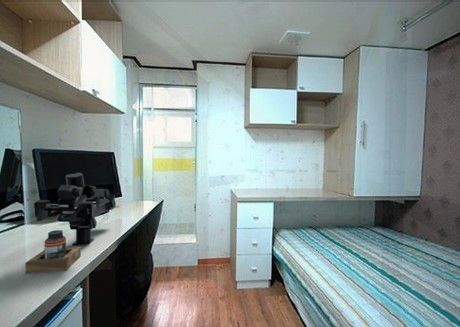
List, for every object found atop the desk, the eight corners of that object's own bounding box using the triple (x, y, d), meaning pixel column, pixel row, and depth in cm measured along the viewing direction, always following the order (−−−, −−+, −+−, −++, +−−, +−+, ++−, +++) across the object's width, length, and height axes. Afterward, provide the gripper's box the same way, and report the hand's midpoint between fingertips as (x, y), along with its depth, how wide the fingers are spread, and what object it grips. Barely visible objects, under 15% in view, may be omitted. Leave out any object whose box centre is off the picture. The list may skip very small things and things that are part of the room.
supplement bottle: (52, 260, 82) (52, 229, 82) (69, 260, 83) (70, 229, 82) (39, 268, 76) (40, 234, 76) (58, 268, 77) (59, 234, 77)
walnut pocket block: (45, 258, 84) (45, 249, 84) (80, 256, 86) (80, 247, 86) (25, 273, 72) (25, 262, 72) (66, 270, 75) (66, 259, 75)
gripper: (46, 181, 89) (18, 196, 74) (99, 183, 93) (83, 198, 78) (48, 207, 91) (21, 228, 77) (99, 209, 95) (84, 228, 80)
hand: (53, 220), depth 78 cm, fingers open, 9 cm apart
